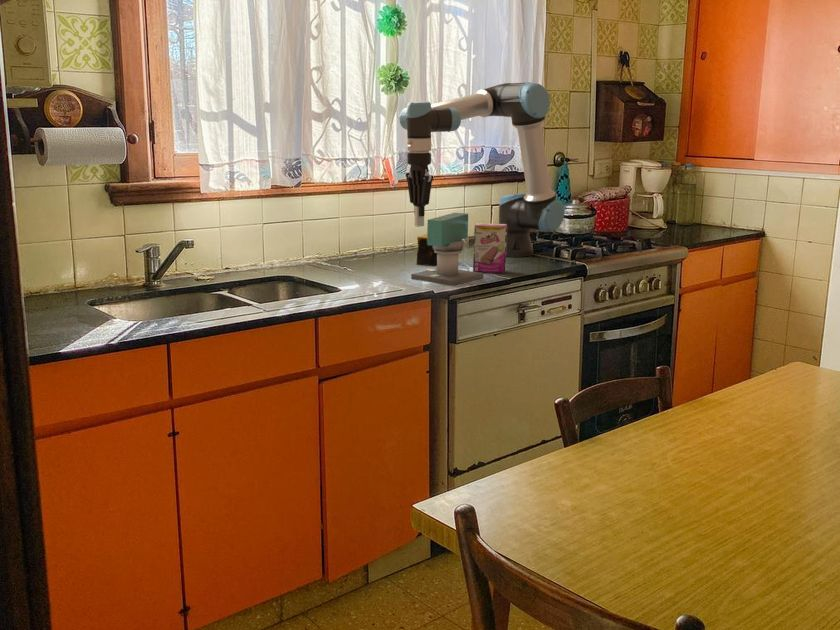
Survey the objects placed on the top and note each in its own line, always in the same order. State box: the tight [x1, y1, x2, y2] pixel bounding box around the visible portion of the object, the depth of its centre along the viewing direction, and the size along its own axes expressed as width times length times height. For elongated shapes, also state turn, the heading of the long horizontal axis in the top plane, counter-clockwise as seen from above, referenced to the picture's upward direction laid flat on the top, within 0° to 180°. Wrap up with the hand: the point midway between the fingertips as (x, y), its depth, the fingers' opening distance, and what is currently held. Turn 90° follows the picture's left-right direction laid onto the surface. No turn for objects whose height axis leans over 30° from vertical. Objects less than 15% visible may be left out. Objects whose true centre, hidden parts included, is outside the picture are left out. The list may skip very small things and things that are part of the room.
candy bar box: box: [472, 222, 507, 274], centre depth 287 cm, size 11×5×16 cm, turn 84°
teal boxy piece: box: [426, 212, 469, 251], centre depth 275 cm, size 10×21×10 cm, turn 154°
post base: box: [410, 250, 484, 287], centre depth 277 cm, size 17×17×10 cm
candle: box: [416, 233, 437, 267], centre depth 303 cm, size 10×10×10 cm
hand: (419, 226), depth 272 cm, fingers closed
